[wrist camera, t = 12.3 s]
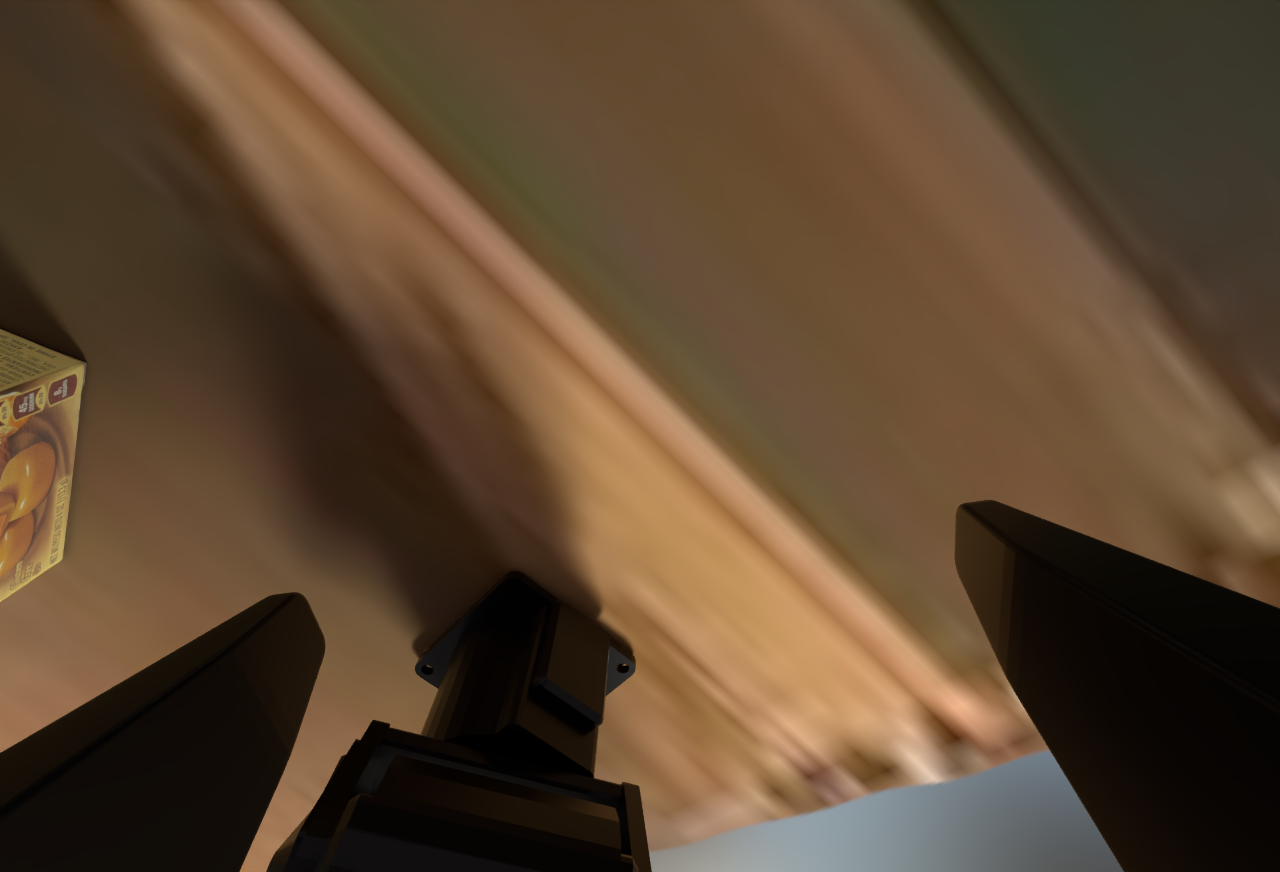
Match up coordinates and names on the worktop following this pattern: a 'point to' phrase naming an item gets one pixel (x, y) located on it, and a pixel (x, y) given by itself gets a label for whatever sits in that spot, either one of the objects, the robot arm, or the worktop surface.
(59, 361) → the candy box
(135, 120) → the worktop surface
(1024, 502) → the worktop surface
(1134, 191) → the worktop surface
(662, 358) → the worktop surface
